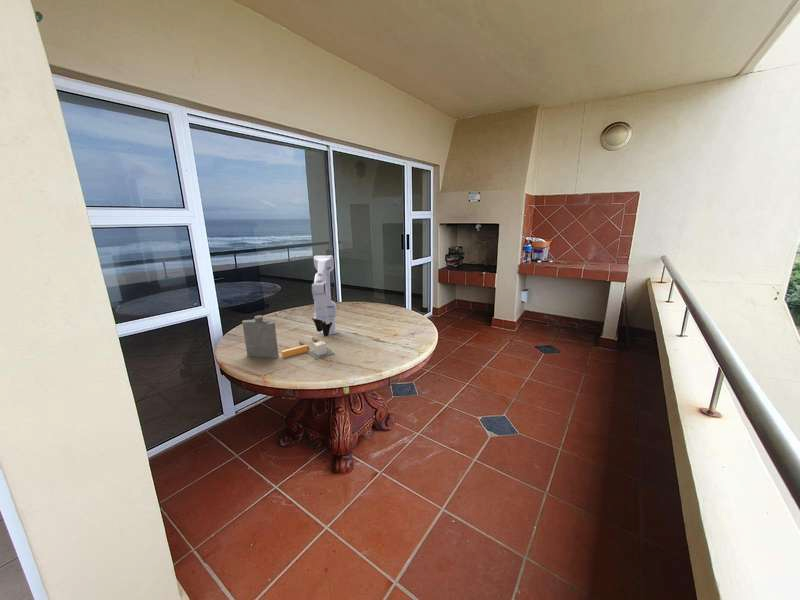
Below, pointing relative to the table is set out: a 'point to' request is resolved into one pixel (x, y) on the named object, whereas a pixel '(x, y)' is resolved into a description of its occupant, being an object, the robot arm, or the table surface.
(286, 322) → the table surface
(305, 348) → the orange bar
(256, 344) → the hip flask
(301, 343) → the walnut channel
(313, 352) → the slate mat
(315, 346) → the white block
